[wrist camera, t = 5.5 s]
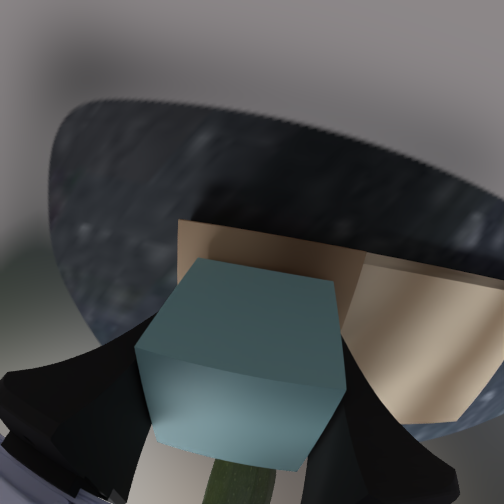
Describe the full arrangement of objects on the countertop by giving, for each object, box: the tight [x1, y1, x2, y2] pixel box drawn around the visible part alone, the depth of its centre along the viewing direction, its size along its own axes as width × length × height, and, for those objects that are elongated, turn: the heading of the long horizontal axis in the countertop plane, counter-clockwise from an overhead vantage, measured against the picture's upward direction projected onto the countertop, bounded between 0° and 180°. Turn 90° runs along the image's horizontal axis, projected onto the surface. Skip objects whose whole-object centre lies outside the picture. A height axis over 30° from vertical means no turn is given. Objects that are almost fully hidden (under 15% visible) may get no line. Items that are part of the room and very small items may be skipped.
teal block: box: [134, 257, 346, 472], centre depth 10 cm, size 5×5×5 cm
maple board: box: [177, 219, 504, 424], centre depth 13 cm, size 18×10×1 cm, turn 83°
